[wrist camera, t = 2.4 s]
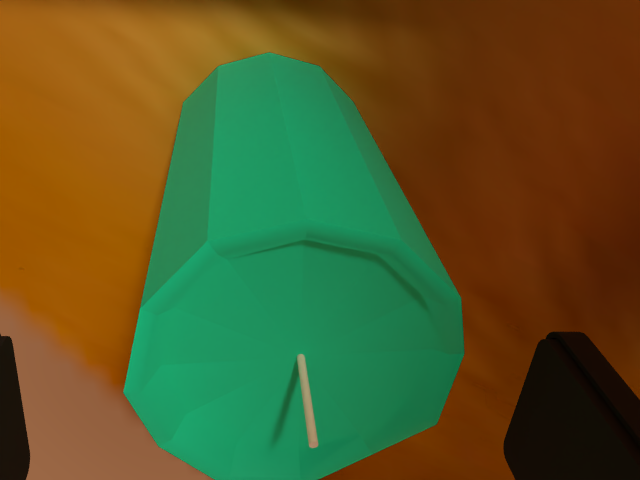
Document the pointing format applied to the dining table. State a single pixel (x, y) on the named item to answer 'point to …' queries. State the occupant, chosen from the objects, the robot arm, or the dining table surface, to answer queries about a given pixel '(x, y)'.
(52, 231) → the dining table surface
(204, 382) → the candle
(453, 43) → the dining table surface
